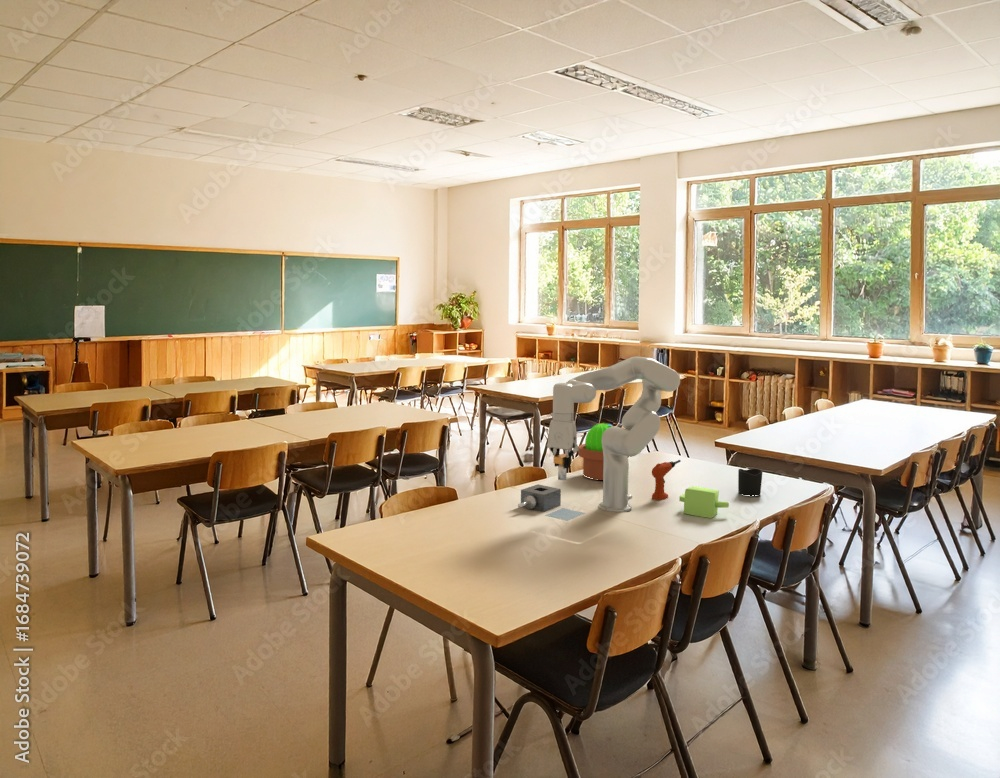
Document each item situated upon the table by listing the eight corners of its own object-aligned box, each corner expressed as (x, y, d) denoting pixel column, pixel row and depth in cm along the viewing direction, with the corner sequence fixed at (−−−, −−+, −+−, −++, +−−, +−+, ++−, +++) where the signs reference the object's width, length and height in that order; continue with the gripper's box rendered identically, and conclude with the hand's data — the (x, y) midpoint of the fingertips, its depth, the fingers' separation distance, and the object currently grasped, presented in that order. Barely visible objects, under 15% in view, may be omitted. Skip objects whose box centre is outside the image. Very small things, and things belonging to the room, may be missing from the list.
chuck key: (562, 476, 275) (563, 453, 274) (571, 478, 273) (571, 454, 272) (553, 480, 270) (553, 456, 269) (561, 481, 268) (561, 457, 267)
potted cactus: (570, 479, 330) (571, 423, 326) (588, 468, 349) (589, 416, 346) (617, 485, 319) (619, 428, 316) (633, 474, 339) (635, 420, 335)
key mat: (563, 509, 283) (563, 508, 283) (585, 514, 277) (585, 513, 276) (544, 516, 274) (544, 515, 274) (567, 521, 267) (567, 520, 267)
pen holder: (756, 498, 299) (758, 474, 298) (734, 494, 305) (735, 471, 304) (764, 493, 307) (765, 470, 306) (741, 489, 312) (743, 466, 311)
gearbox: (730, 515, 278) (732, 490, 277) (724, 521, 270) (726, 495, 269) (683, 507, 287) (685, 483, 286) (675, 512, 279) (677, 487, 278)
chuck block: (537, 501, 294) (537, 484, 293) (560, 506, 287) (560, 488, 286) (507, 512, 279) (507, 494, 278) (531, 517, 272) (531, 499, 271)
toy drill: (686, 489, 307) (684, 454, 304) (659, 503, 295) (657, 467, 292) (676, 486, 311) (674, 452, 308) (649, 500, 299) (647, 465, 296)
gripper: (538, 416, 271) (538, 465, 273) (577, 421, 260) (576, 472, 263) (549, 413, 276) (549, 461, 279) (588, 418, 266) (587, 468, 269)
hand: (562, 466), depth 271 cm, fingers closed on chuck key, 3 cm apart
